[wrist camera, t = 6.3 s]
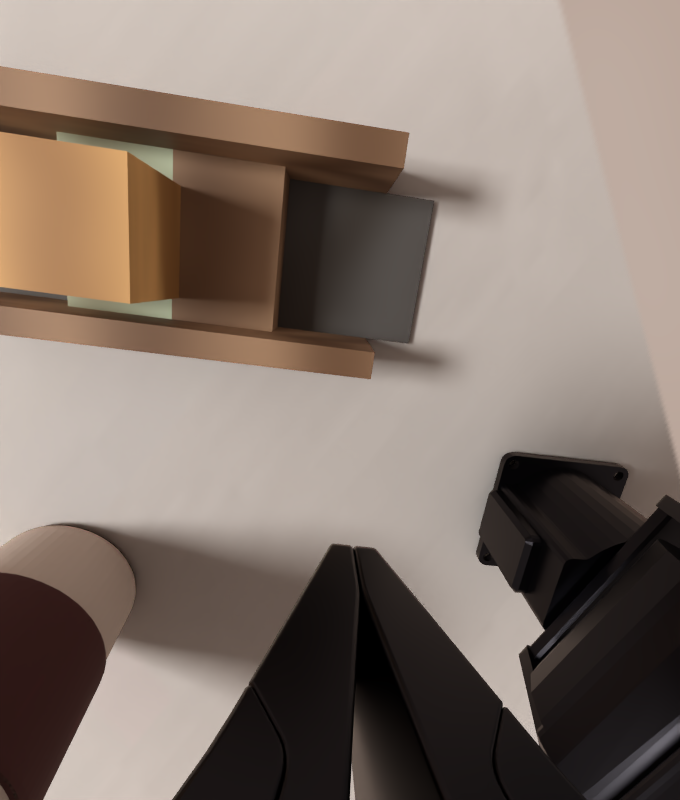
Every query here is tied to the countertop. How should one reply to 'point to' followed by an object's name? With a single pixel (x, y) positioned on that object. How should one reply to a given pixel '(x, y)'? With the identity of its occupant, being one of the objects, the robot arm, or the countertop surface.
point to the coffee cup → (53, 645)
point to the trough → (240, 229)
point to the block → (86, 222)
